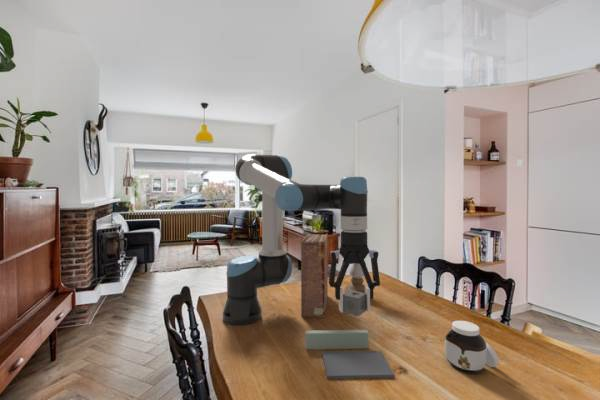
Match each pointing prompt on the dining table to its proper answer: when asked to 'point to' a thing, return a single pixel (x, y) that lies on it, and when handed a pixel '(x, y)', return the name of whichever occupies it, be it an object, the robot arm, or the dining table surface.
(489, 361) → the spread jar
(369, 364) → the mat
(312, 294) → the book
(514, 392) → the dining table surface
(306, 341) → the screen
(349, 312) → the dice cube
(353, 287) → the candle holder
